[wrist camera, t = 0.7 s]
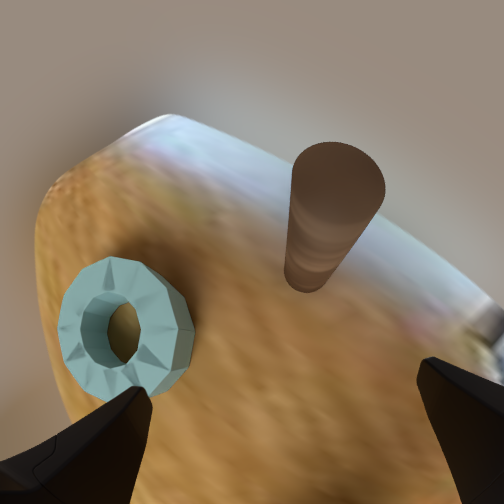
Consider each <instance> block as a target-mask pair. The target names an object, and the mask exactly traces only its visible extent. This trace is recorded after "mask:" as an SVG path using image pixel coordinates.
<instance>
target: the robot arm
mask: <svg viewBox="0 0 504 504" xmlns="http://www.w3.org/2000/svg"><path fill="white" fill-rule="evenodd" d="M417 386H418V389H419V391H420V394H421V397H422V400H423V403H424V406H425V409H426V412H427V415H428V418H429V420H430V423H431V425H432V427H433V430H434V432H435V434H436V436H437V439H438V441H439V443H440V446H441V448H442V451H443V453H444V456H445V458H446V461H447V463H448V466H449V468H450V471H451V473H452V476H453V479H454V482H455V484H456V487H457V490H458V493H459V496H460V499H461V502H462V504H504V386H502V385H499V384H497V383H494V382H492V381H489V380H487V379H485V378H482V377H480V376H478V375H475V374H473V373H471V372H468V371H466V370H464V369H461V368H459V367H457V366H454V365H452V364H450V363H447V362H445V361H443V360H440V359H438V358H436V357H429V358H425V359H423V360H422V361H421V364H420V368H419V371H418V375H417ZM152 410H153V407H152V403H151V400H150V398H149V396H148V394H147V392H146V389H145V388H144V387H142V386H131V387H129V388H128V389H126V390H125V391H123V392H122V393H120V394H119V395H117V396H116V397H114V398H113V399H111V400H110V401H108V402H107V403H105V404H104V405H102V406H101V407H99V408H98V409H96V410H95V411H93V412H91V413H90V414H88V415H87V416H85V417H84V418H82V419H80V420H79V421H77V422H76V423H74V424H72V425H71V426H69V427H68V428H66V429H65V430H63V431H61V432H60V433H58V434H57V435H55V436H53V437H51V438H50V439H48V440H46V441H44V442H43V443H41V444H39V445H37V446H35V447H33V448H31V449H29V450H27V451H25V452H22V453H20V454H18V455H15V456H13V457H11V458H8V459H6V460H3V461H0V504H130V500H131V497H132V493H133V489H134V486H135V482H136V479H137V475H138V472H139V468H140V465H141V461H142V458H143V455H144V451H145V447H146V443H147V438H148V432H149V426H150V421H151V415H152Z"/></svg>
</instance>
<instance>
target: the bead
mask: <svg viewBox="0 0 504 504" xmlns="http://www.w3.org/2000/svg"><path fill="white" fill-rule="evenodd" d="M128 302H130V303H131V305H132V306H133V307H134V308H135V309H136V312H137V316H138V320H139V323H140V327H141V334H140V339H139V344H138V350H137V352H136V353H135V354H134V355H133V356H132V358H131V359H130V360H129V361H128V363H127V364H126V363H124V362H121V361H120V360H119V358H118V357H117V356H116V355H115V354H114V353H113V351H112V350H111V348H110V344H109V340H108V336H107V330H108V325H109V320H110V317H111V316H112V314H113V313H114V312H115V310H116V309H117V308H118V307H119V306H120V305H122V304H125V303H128ZM57 328H58V329H57V330H58V335H59V341H60V346H61V351H62V355H63V360H64V363H65V365H66V366H67V368H68V369H69V371H70V372H71V374H72V375H73V376H74V378H75V379H76V381H77V382H78V383H79V385H80V386H81V387H82V389H83V390H84V391H85V392H87V393H89V394H91V395H93V396H95V397H97V398H99V399H102V400H104V401H106V402H108V401H110V400H111V399H113V398H114V397H116V396H117V395H119V394H120V393H122V392H123V391H125V390H126V389H128V388H129V387H131V386H142V387H144V388H145V389H146V392H147V394H148V396H149V398H150V397H153V396H156V395H158V394H161V393H164V392H166V391H168V390H169V389H170V388H171V387H172V385H173V384H174V383H175V382H176V381H177V380H178V379H179V378H180V376H181V375H182V374H183V373H184V372H185V371H186V370H187V369H188V367H189V364H190V358H191V353H192V347H193V342H194V336H195V329H194V326H193V323H192V320H191V317H190V314H189V310H188V307H187V304H186V301H185V298H184V297H183V296H182V295H181V294H180V293H179V292H178V291H177V290H176V289H175V288H174V287H173V286H172V285H171V284H170V283H169V282H168V281H167V280H165V279H164V278H163V277H162V276H161V275H160V274H158V273H157V272H155V271H154V270H152V269H151V268H149V267H148V266H146V265H144V264H143V263H141V262H139V261H133V260H128V259H122V258H117V257H112V256H109V257H107V258H105V259H103V260H101V261H98V262H96V263H94V264H92V265H90V266H88V267H86V268H83V269H82V270H81V272H80V273H79V274H78V276H77V277H76V279H75V280H74V281H73V283H72V284H71V286H70V287H69V288H68V290H67V291H66V293H65V294H64V297H63V301H62V306H61V311H60V316H59V321H58V327H57Z"/></svg>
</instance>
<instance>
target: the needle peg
mask: <svg viewBox="0 0 504 504" xmlns="http://www.w3.org/2000/svg"><path fill="white" fill-rule="evenodd" d="M384 197H385V182H384V178H383V175H382V173H381V171H380V169H379V167H378V166H377V165H376V163H375V162H374V161H373V160H372V159H371V158H370V157H369V156H368V155H366V153H364V152H363V151H361V150H359V149H358V148H356V147H353V146H351V145H348V144H344V143H339V142H323V143H318V144H315V145H313V146H311V147H309V148H307V149H306V150H304V151H303V152H302V153H301V154H300V155H299V156H298V158H297V159H296V161H295V163H294V165H293V170H292V181H291V195H290V209H289V221H288V233H287V245H286V256H285V267H284V274H285V278H286V280H287V282H288V283H289V285H290V286H291V287H292V288H294V289H295V290H297V291H300V292H304V293H310V292H314V291H316V290H318V289H320V288H321V287H322V286H323V285H324V284H325V283H326V281H327V280H328V279H329V277H330V276H331V275H332V273H333V272H334V271H335V270H336V268H337V267H338V266H339V264H340V263H341V262H342V260H343V259H344V257H345V256H346V255H347V253H348V252H349V251H350V249H351V248H352V247H353V245H354V244H355V242H356V241H357V240H358V238H359V237H360V235H361V234H362V232H363V231H364V230H365V228H366V227H367V225H368V224H369V222H370V221H371V220H372V218H373V217H374V215H375V214H376V212H377V211H378V209H379V208H380V206H381V204H382V202H383V200H384Z"/></svg>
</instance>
